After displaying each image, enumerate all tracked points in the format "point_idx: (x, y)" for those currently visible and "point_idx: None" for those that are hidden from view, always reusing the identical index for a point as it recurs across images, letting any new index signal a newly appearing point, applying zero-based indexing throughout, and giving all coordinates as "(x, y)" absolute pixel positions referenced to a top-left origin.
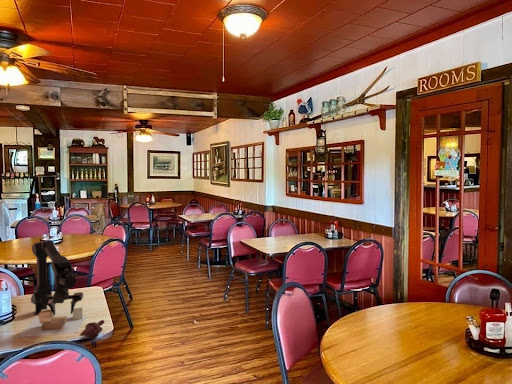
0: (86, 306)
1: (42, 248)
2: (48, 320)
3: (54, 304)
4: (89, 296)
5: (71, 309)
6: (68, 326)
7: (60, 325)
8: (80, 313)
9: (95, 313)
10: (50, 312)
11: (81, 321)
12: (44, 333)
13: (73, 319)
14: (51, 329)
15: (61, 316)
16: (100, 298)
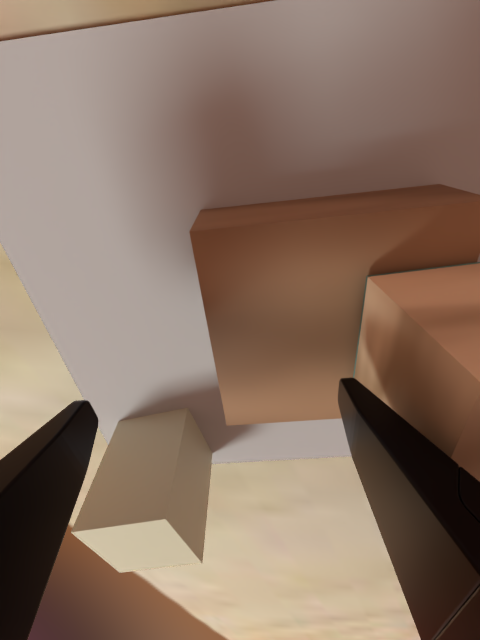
0: (207, 552)
1: None
2: (408, 283)
3: (430, 636)
4: (246, 613)
5: (13, 469)
6: (153, 275)
7: (206, 219)
8: (114, 463)
9: (87, 485)
10: (441, 406)
11: (89, 374)
12: (387, 56)
13: (184, 410)
14: (320, 197)
15: (278, 421)
16: (180, 600)
